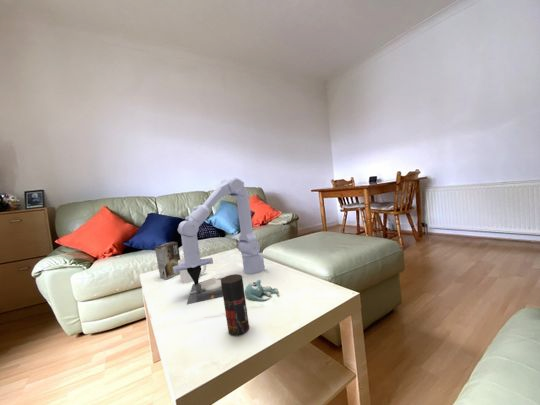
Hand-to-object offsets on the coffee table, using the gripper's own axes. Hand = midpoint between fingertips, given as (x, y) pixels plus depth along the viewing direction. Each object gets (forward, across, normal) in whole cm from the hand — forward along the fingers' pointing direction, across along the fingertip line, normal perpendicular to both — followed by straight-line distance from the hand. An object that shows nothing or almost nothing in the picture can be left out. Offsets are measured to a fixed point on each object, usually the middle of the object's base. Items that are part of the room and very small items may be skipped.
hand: (196, 285), depth 92 cm
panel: (+4, +6, 0) cm, 7 cm away
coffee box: (+5, -9, +34) cm, 35 cm away
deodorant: (+4, +7, -30) cm, 32 cm away
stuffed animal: (+4, +20, -17) cm, 27 cm away
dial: (+3, +4, -1) cm, 5 cm away
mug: (+4, +1, +18) cm, 19 cm away
